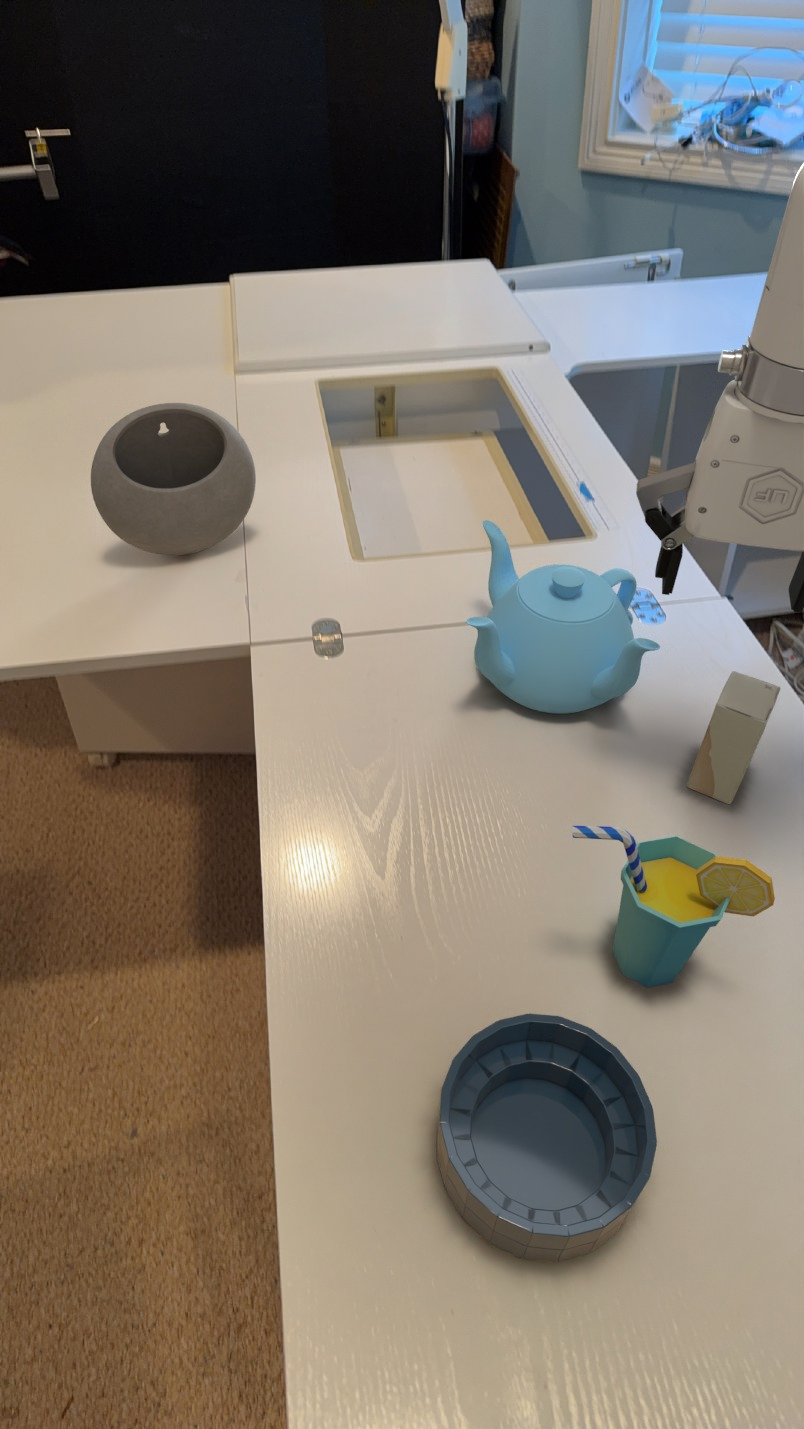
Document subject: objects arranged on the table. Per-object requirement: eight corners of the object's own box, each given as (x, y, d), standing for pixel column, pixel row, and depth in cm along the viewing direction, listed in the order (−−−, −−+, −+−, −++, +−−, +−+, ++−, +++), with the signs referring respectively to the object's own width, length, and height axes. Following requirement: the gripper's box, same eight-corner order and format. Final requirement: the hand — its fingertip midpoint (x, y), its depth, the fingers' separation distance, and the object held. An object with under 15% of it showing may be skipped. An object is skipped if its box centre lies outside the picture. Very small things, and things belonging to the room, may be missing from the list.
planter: (115, 583, 102) (74, 433, 89) (108, 550, 107) (68, 403, 94) (270, 552, 107) (253, 406, 94) (256, 522, 112) (238, 378, 99)
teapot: (457, 722, 87) (464, 625, 78) (476, 607, 100) (484, 513, 91) (633, 743, 85) (661, 646, 76) (629, 623, 98) (652, 529, 89)
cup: (542, 984, 67) (570, 869, 56) (549, 898, 72) (576, 779, 62) (730, 1017, 65) (796, 905, 55) (723, 927, 71) (781, 809, 60)
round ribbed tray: (654, 1097, 61) (674, 1059, 57) (610, 1303, 52) (629, 1278, 48) (475, 1025, 64) (481, 985, 60) (406, 1208, 56) (407, 1176, 52)
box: (701, 753, 84) (733, 666, 76) (746, 770, 83) (783, 684, 75) (684, 789, 81) (715, 702, 73) (730, 808, 79) (767, 721, 71)
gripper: (662, 388, 55) (614, 606, 67) (959, 417, 52) (853, 639, 64) (664, 341, 60) (619, 551, 72) (934, 366, 57) (840, 580, 69)
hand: (729, 592), depth 68 cm, fingers open, 9 cm apart
